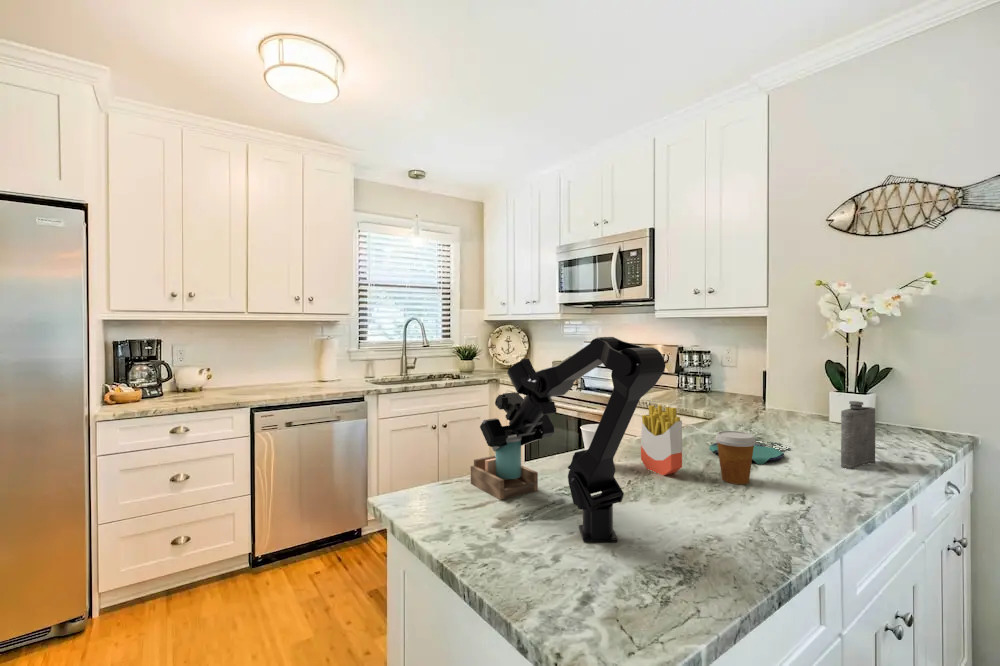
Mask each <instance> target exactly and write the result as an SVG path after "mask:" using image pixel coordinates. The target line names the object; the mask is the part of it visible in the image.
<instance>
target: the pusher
mask: <svg viewBox="0 0 1000 666" xmlns="http://www.w3.org/2000/svg"><path fill="white" fill-rule="evenodd" d="M485 471H486V472H488V473H490V474H492V475H495V476H496V464H495V458H493V459H488V460H485ZM503 480H507V479H503Z"/></svg>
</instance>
